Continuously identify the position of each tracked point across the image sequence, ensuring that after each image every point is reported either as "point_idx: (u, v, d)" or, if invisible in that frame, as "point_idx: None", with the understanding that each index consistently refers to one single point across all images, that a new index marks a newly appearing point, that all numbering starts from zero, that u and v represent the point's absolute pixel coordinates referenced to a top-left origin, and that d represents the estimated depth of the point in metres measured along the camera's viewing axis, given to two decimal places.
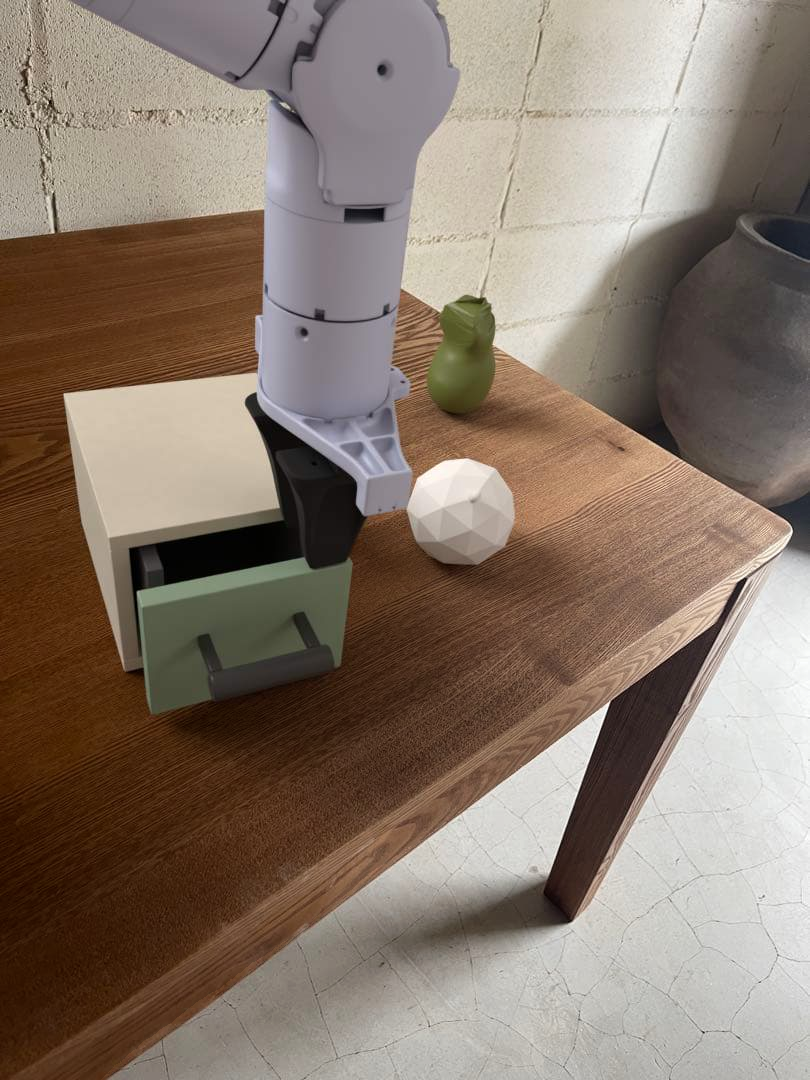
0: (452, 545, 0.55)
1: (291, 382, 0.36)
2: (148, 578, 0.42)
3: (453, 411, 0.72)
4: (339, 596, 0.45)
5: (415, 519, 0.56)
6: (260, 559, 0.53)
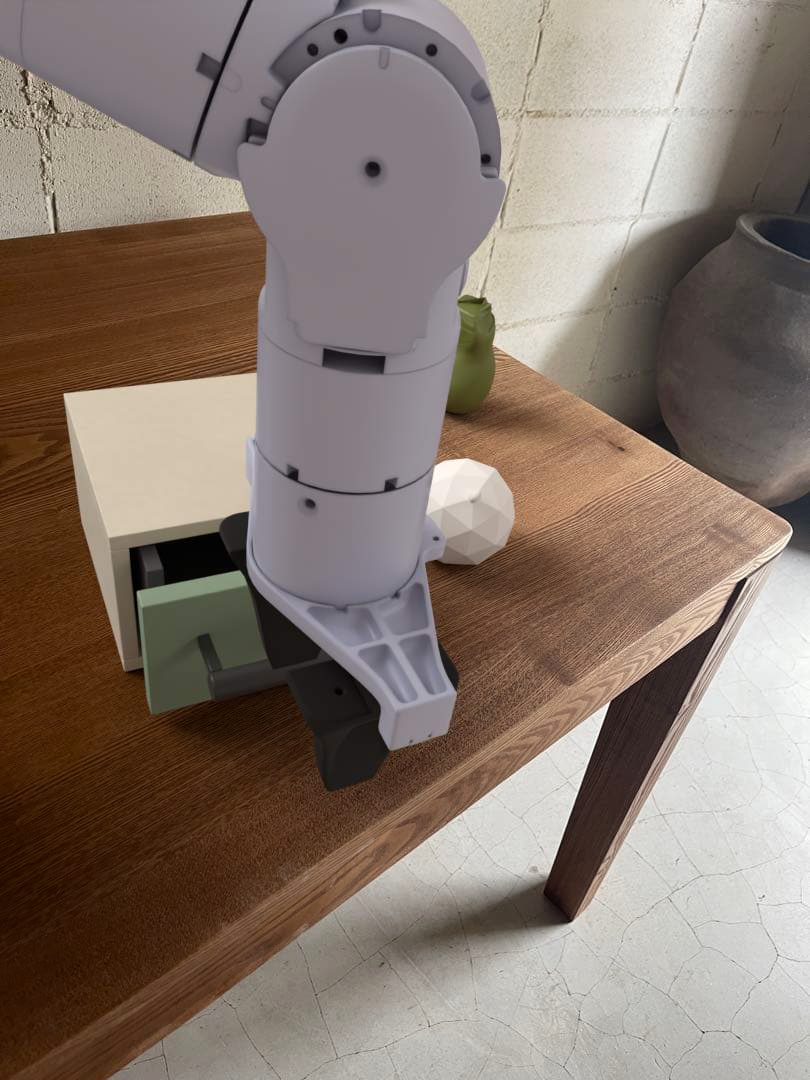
0: (452, 545, 0.55)
1: (292, 560, 0.27)
2: (148, 578, 0.42)
3: (453, 411, 0.72)
4: None
5: None
6: None
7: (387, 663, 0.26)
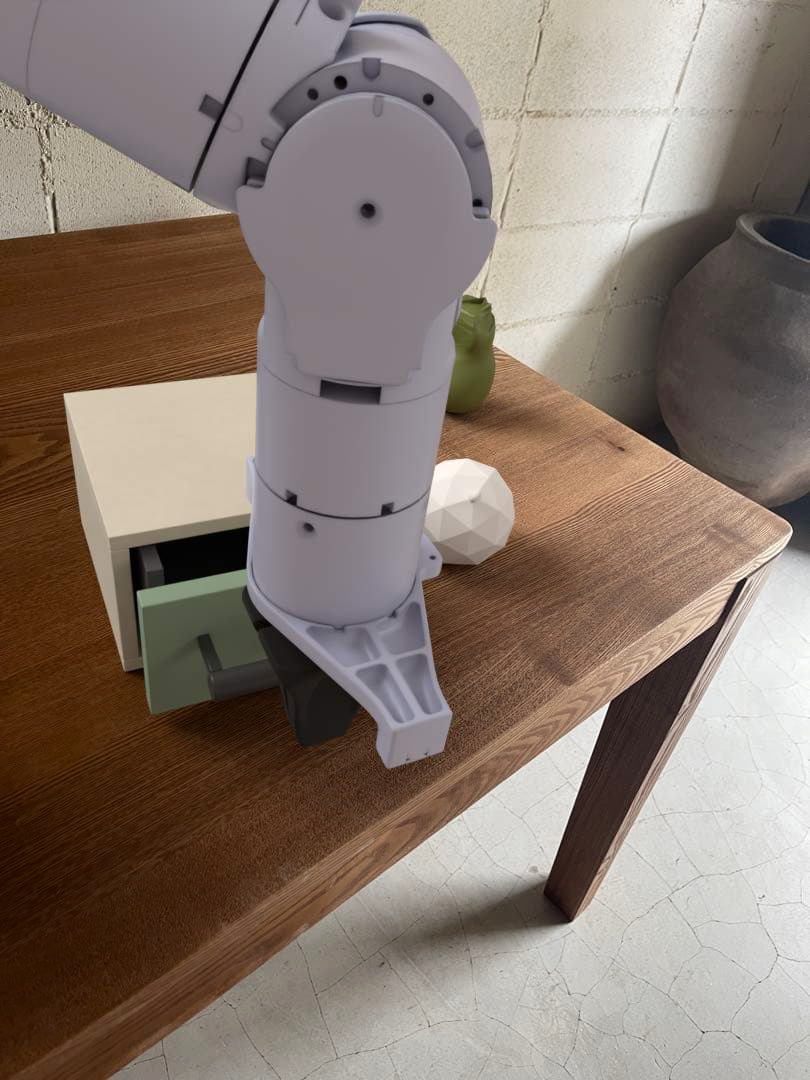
0: (452, 545, 0.55)
1: (291, 582, 0.27)
2: (148, 578, 0.42)
3: (453, 411, 0.72)
4: None
5: None
6: None
7: (384, 682, 0.27)
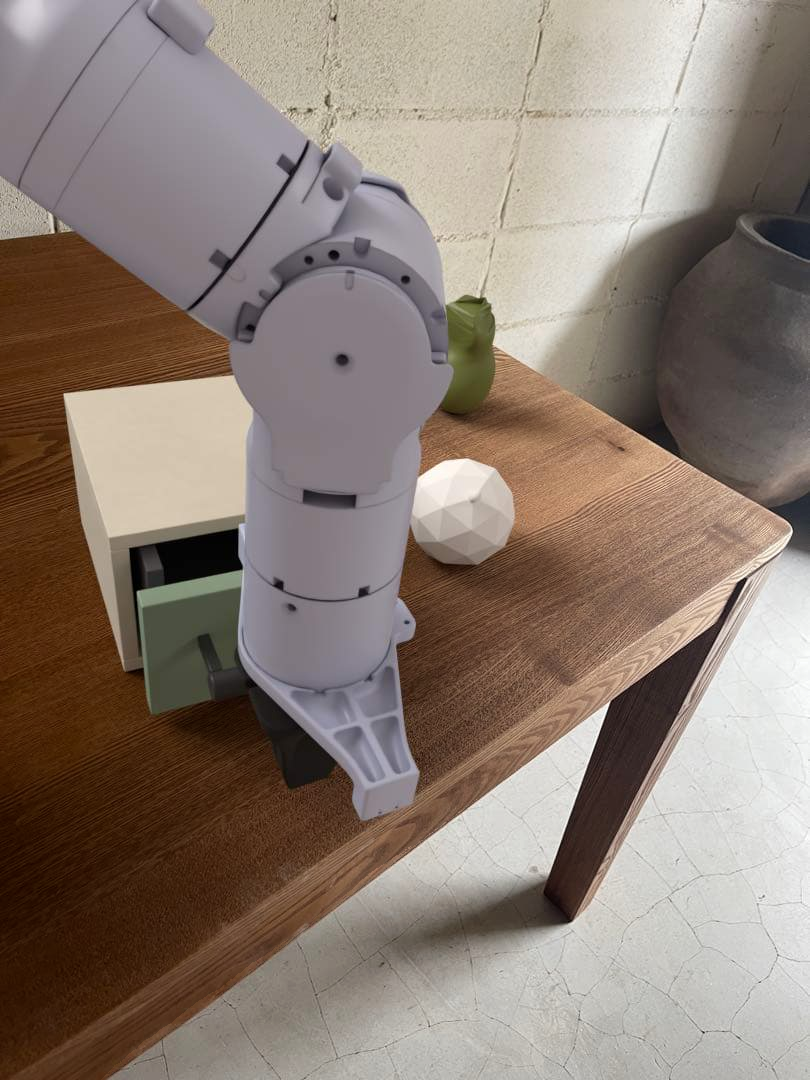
0: (452, 545, 0.55)
1: (277, 652, 0.31)
2: (148, 578, 0.42)
3: (453, 411, 0.72)
4: None
5: (415, 519, 0.56)
6: None
7: (360, 743, 0.30)
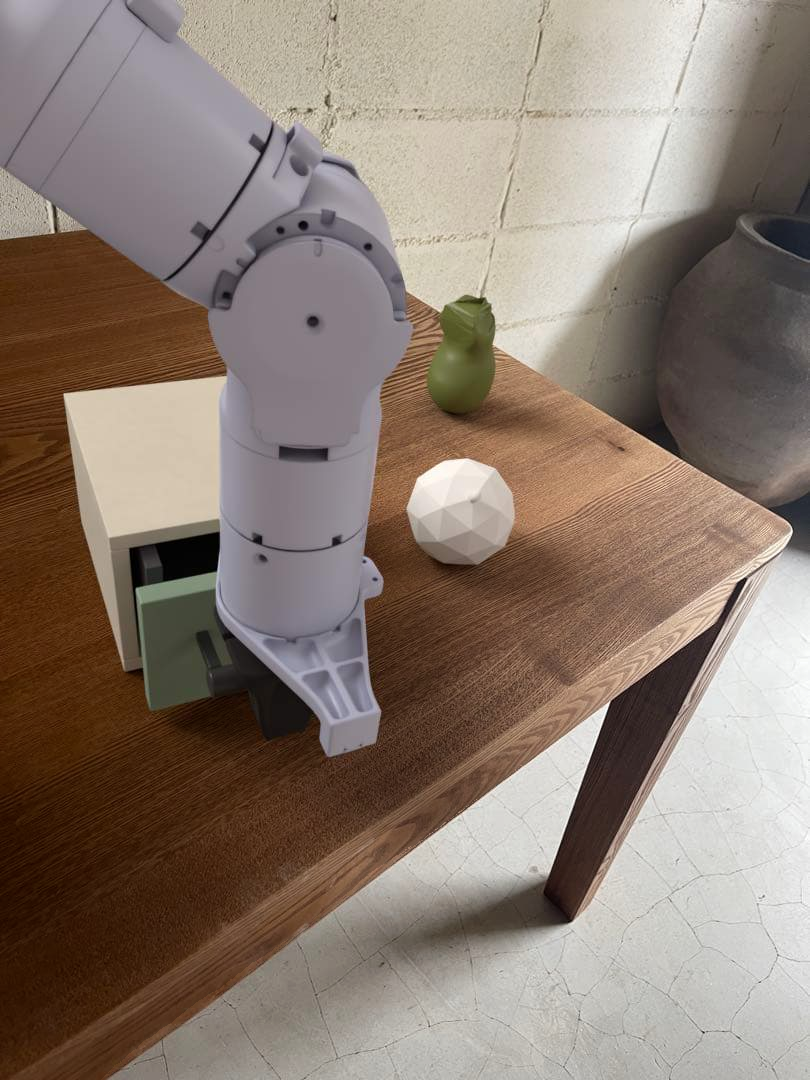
0: (452, 545, 0.55)
1: (250, 602, 0.33)
2: (147, 575, 0.42)
3: (453, 411, 0.72)
4: None
5: (415, 519, 0.56)
6: None
7: (327, 686, 0.33)
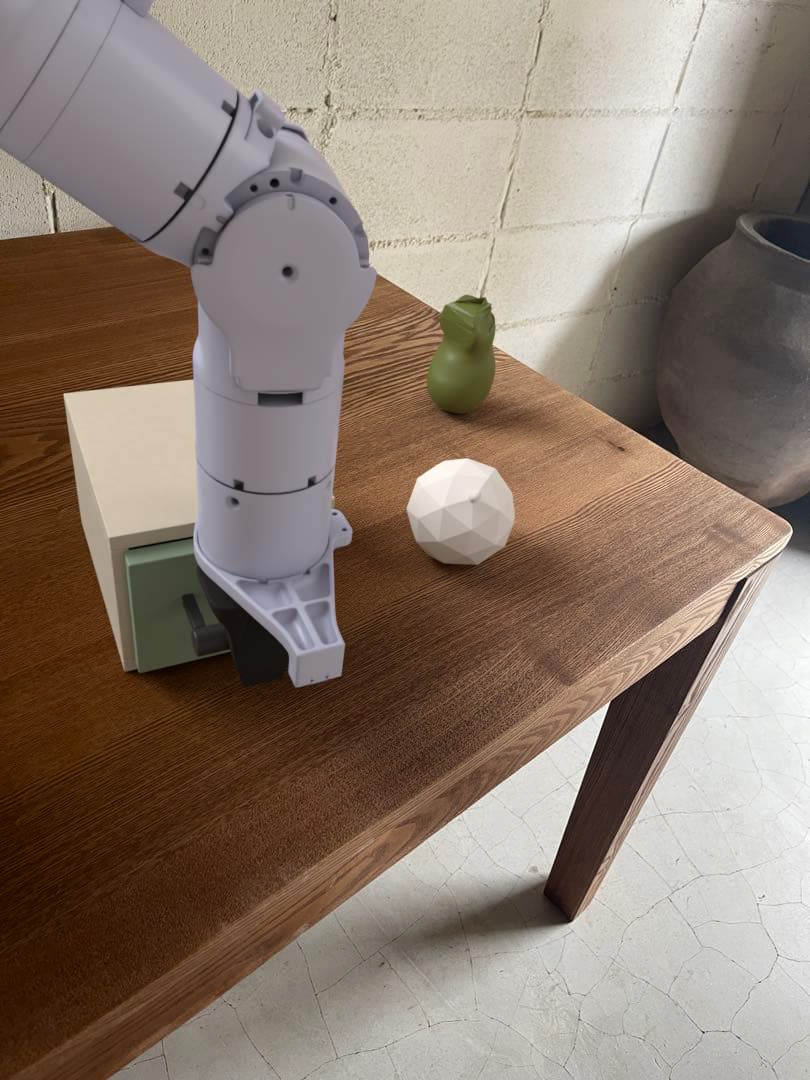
0: (452, 545, 0.55)
1: (224, 545, 0.35)
2: None
3: (453, 411, 0.72)
4: None
5: (415, 519, 0.56)
6: None
7: (295, 622, 0.35)
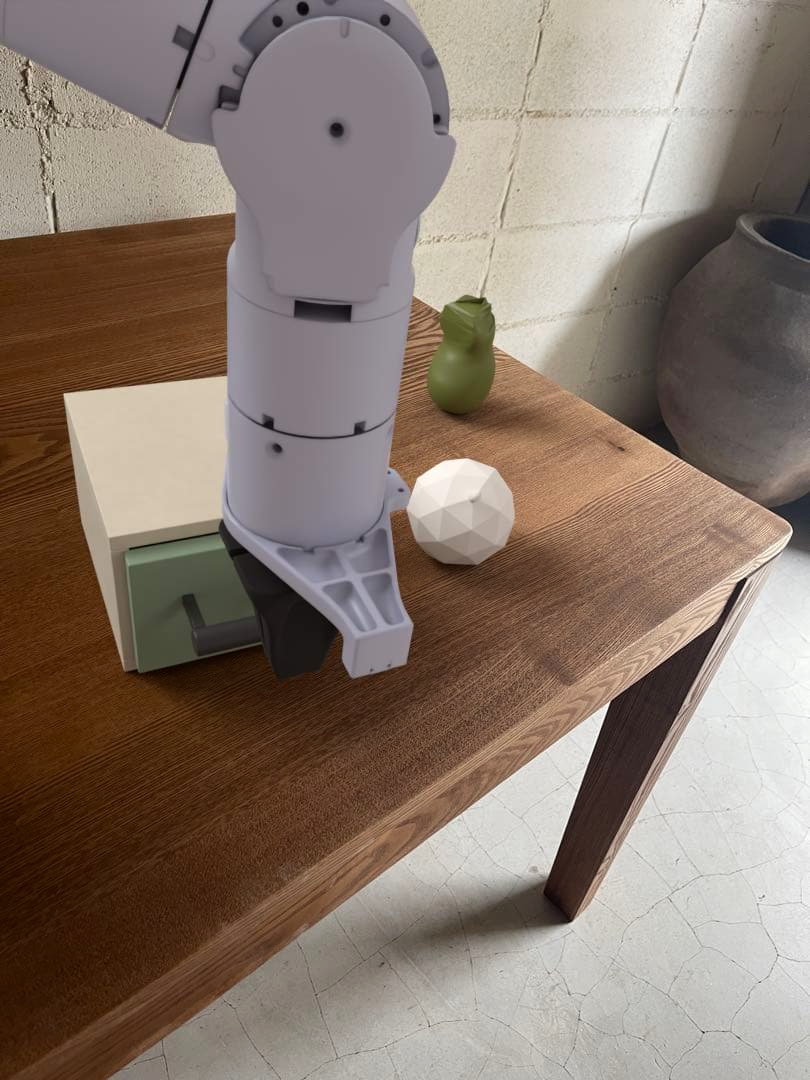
0: (452, 545, 0.55)
1: (262, 504, 0.29)
2: None
3: (453, 411, 0.72)
4: None
5: (415, 519, 0.56)
6: None
7: (350, 599, 0.28)
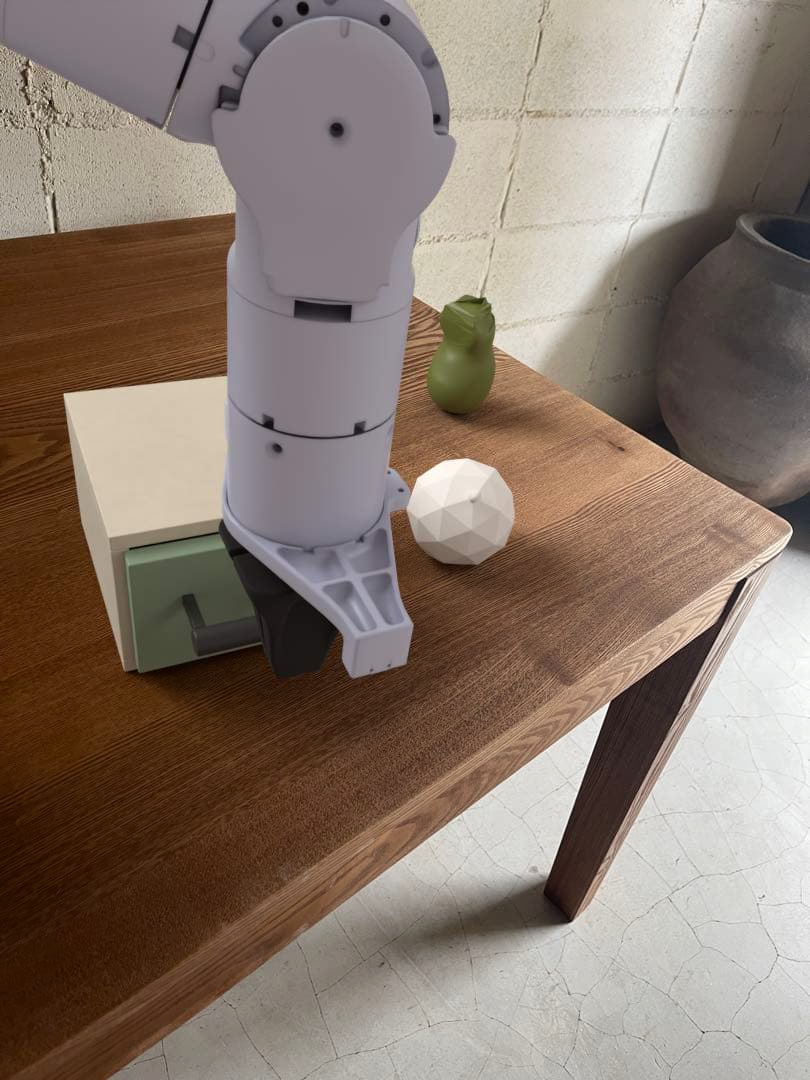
0: (452, 545, 0.55)
1: (262, 504, 0.29)
2: None
3: (453, 411, 0.72)
4: None
5: (415, 519, 0.56)
6: None
7: (350, 599, 0.28)
